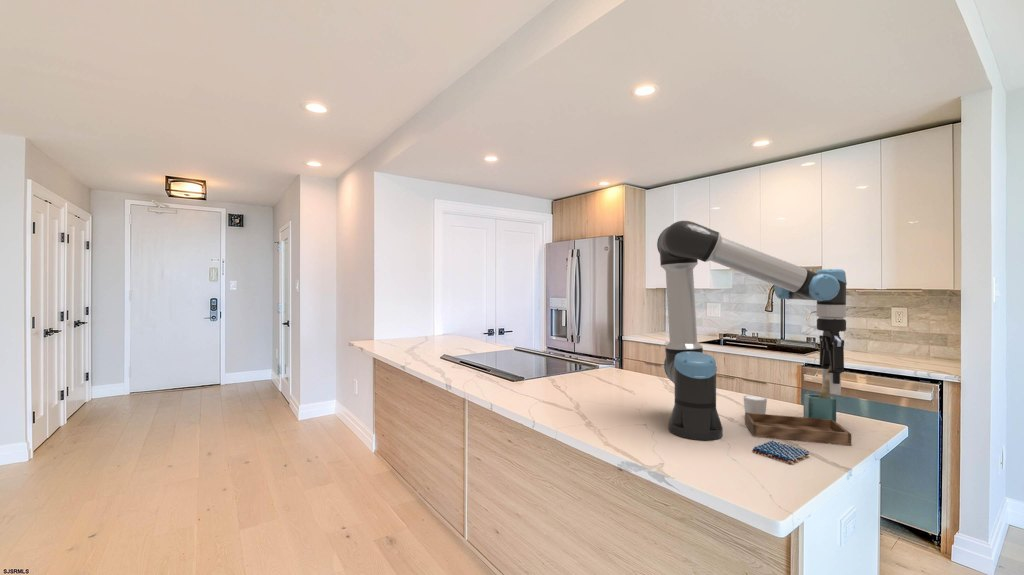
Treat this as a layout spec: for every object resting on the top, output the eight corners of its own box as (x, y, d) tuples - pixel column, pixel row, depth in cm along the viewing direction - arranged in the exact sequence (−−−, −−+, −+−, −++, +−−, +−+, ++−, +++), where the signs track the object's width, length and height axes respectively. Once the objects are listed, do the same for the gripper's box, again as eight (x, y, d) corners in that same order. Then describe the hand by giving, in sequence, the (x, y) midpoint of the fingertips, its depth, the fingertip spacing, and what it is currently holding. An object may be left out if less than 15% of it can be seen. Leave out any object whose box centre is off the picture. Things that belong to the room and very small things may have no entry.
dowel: (812, 421, 139) (814, 365, 139) (809, 419, 142) (811, 363, 141) (839, 424, 137) (841, 366, 137) (835, 422, 139) (837, 365, 139)
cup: (809, 426, 138) (809, 397, 138) (803, 421, 143) (803, 393, 143) (836, 428, 136) (836, 399, 136) (829, 423, 141) (829, 395, 141)
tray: (753, 436, 129) (753, 425, 129) (745, 422, 142) (745, 412, 142) (851, 445, 121) (851, 433, 121) (832, 430, 134) (832, 419, 134)
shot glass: (765, 417, 148) (765, 396, 148) (768, 422, 142) (768, 401, 142) (742, 414, 151) (742, 394, 151) (744, 420, 145) (744, 398, 145)
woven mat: (812, 458, 113) (812, 450, 113) (792, 467, 108) (792, 459, 108) (771, 446, 122) (771, 439, 122) (750, 454, 117) (750, 446, 117)
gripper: (858, 320, 128) (858, 399, 129) (834, 316, 146) (834, 386, 146) (827, 319, 131) (828, 397, 131) (807, 316, 149) (807, 384, 149)
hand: (831, 391), depth 139 cm, fingers open, 6 cm apart
